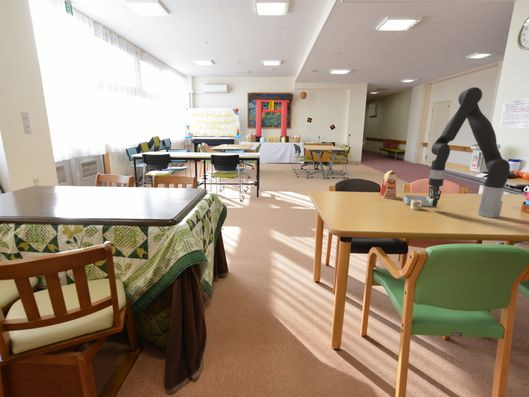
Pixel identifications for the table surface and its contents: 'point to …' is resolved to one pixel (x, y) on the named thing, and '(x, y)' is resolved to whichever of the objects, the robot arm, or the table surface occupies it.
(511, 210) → the table surface
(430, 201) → the ball
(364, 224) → the table surface
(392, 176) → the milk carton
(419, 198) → the bin
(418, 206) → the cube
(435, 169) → the robot arm
